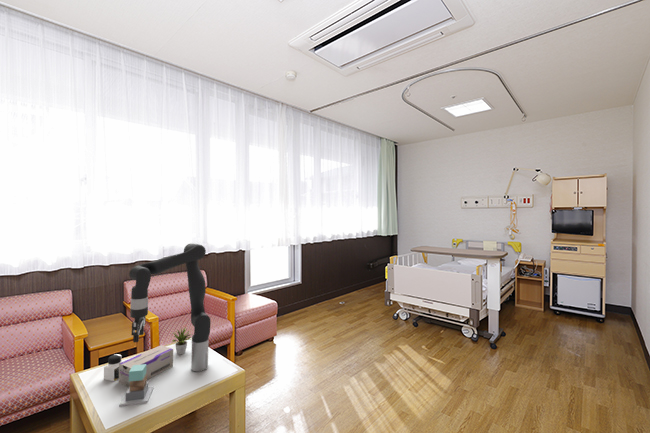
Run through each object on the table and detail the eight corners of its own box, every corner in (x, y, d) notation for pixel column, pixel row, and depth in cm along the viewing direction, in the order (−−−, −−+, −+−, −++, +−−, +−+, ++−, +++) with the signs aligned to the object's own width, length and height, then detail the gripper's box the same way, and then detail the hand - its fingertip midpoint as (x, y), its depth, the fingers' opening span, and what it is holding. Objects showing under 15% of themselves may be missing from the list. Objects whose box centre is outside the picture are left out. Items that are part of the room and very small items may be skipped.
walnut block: (146, 382, 156) (146, 373, 155) (143, 389, 150) (143, 379, 150) (133, 384, 154) (133, 374, 154) (129, 391, 148) (129, 381, 148)
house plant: (175, 361, 187) (175, 335, 186) (163, 354, 194) (163, 329, 194) (196, 352, 199) (196, 328, 198) (183, 346, 206) (184, 322, 206)
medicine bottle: (114, 381, 164) (114, 360, 163) (103, 379, 165) (103, 358, 165) (125, 374, 171) (125, 353, 170) (114, 372, 172) (115, 352, 172)
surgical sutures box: (131, 388, 159) (131, 368, 158) (118, 382, 163) (119, 363, 163) (172, 366, 181) (173, 349, 181) (160, 361, 186) (161, 344, 186)
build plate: (153, 388, 159) (153, 379, 159) (147, 402, 148) (147, 392, 148) (127, 391, 156) (127, 382, 156) (119, 406, 144) (119, 396, 144)
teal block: (146, 373, 155) (146, 364, 155) (142, 380, 149) (142, 370, 149) (133, 374, 154) (133, 365, 153) (128, 381, 148) (129, 371, 148)
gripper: (143, 310, 145) (143, 344, 145) (151, 301, 158) (150, 331, 159) (125, 311, 142) (125, 345, 143) (135, 302, 156) (134, 333, 156)
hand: (138, 338), depth 151 cm, fingers open, 8 cm apart
